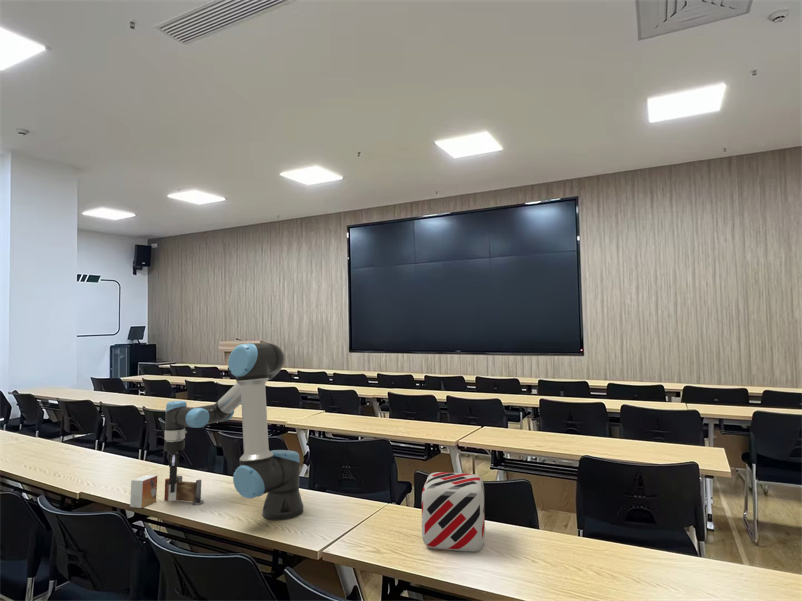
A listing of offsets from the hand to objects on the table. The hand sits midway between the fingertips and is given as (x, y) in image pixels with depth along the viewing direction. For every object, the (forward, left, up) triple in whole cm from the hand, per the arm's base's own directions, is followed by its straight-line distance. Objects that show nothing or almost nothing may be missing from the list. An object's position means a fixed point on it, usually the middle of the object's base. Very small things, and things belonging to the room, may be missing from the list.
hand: (172, 500), depth 184 cm
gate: (0, -4, -2) cm, 4 cm away
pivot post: (-8, -6, -2) cm, 10 cm away
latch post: (+6, -7, -2) cm, 10 cm away
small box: (+11, +4, -2) cm, 12 cm away
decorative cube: (-113, -16, -2) cm, 114 cm away
